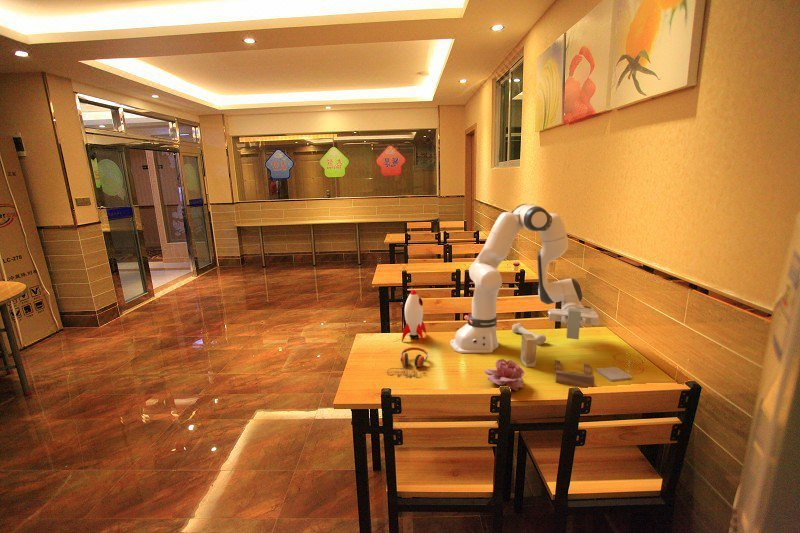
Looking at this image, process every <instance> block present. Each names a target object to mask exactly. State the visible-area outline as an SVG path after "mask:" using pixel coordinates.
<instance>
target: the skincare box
mask: <svg viewBox="0 0 800 533" xmlns="http://www.w3.org/2000/svg"><path fill="white" fill-rule="evenodd" d="M520 346H521V347H520V348H521V349H520V363H522V364H523V365H524V367H525V368H529V367H530V368H531V367H532V368H533V367H536V361H537V348H538V345H537V339H536V338H535V337H534V336H533V335H532V334H521V345H520Z"/></svg>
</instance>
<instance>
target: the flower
mask: <svg viewBox="0 0 800 533" xmlns="http://www.w3.org/2000/svg"><path fill="white" fill-rule="evenodd" d="M494 366H495V368H496V369H491V368H487V369H484V374H485V375H488V376H487V378H486V379H487V380H488V381H489V382H491V383H492V384H494V385H499V386H503V387H505V386H508V387H510V388H509V389H511V390H514V392H515V391H516V392H517V391H519V388H520V389H521V388H522V389H524V381H525V380H524V379H523V376H524V375H525V374H526V373H525V371H524V370H523V369H522V367H520V365H519V364H518V363H517V362H516V361H513V360H512V359H509V360H506V359H504V358H502V359H501V358H500V359H497V360H496V361H495V364H494ZM508 387H507V388H508Z"/></svg>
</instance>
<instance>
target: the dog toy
mask: <svg viewBox="0 0 800 533" xmlns="http://www.w3.org/2000/svg"><path fill="white" fill-rule="evenodd" d="M511 331H512V332H513V333H515V334H521V335H523V334H532V335H533V336H534V337H535V338H536V339H537V346H542V345H543V344H545V342H546V341H547V337H546V336H545V335H544V334H542V333H540V334H536V333H534V332H532V331H531V330H528V329H526V328H524V326H523V324H522V323H521V322H519V323H515V324H512V325H511Z"/></svg>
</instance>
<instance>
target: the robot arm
mask: <svg viewBox="0 0 800 533" xmlns="http://www.w3.org/2000/svg"><path fill="white" fill-rule="evenodd" d="M494 222H495V223H493V226H492V227H491V230H490V232H489V234H488V236H487V238H486V241H485V243H484V246H483V247H482V248H481V250H480V252H479V254H478V255H477V256H476V258H475V259H474V261H473V262H472V263H471V264H470V266H469V267H468V274H469V277H470V280H471V281H472V282H473V284H474V292H473V297H472V298H471V315H470V316H469V315H467V314H465V315H464V317H463V318H464V319H465V321H467V323H466V324H464V325H463V326H462V327H460V328H459V329H457V330H456V332H455V335H454V336H455V337H454V339H453V338H452V339H451V340H450V342H449V344H450V345H449V346H450V347H451V348H452V350H454V351H455V352H457V353H460V354H477V353H479V354H480V353H481V354H482V353H485V354H486V353H487V354H488V353H493V352H494V350H496V349H497V348H498V347H499V345H500V344H499V342H498V336H497V335H498V334H497V326H498V322H497V321H498V320H497V319H498V317H497V299H498V296H499V290H500V288H501V287H502V284H503V277H502V274H501V272H500V271H499V270H498V267H499V266H500V265H501V263H502V262H503V261H504V260H505V259H506V258H507V257H508V254H509V252H510V250H511V248H512V247H513V244H514V242H515V239H516V237H517V234H518V233H519V232H520V231H521V230H522V229H524V230H527V231H533V232H538V233H539V235H540V240H541V249H540V250H539V251H538V252H537V259H536V260H537V275H538V288H537V289H538V290H537V291H538V297H539V300H540V302H541V303H543V304H546V305H551V304H555V303H558V302H561V308H550V309H549V310H547V314H548V317H547V319H548V321H551V322H552V321H553V322H558V323H559V322H560V323H563V324H564V325H567V324H568V310H569V308H577V309H580V310H581V317H580V327H583V326H584V325H589V326H590V325H591V326H599V324H600V316H599V314H598V312H597V311H595V308H594V307H591V306H587V305H583V304H582V300H583V292H582V288H581V286H580V283H579V282H578V281H577V280H576V279H575V278H572V277H571V278H570V277H569V278H565V279H561V280H556V281H551V282H549V281H548V271H547V270H548V266H549V265H550V263H553V261H555V260H557V259H558V258H559V257H562V255H563V254H565V253H566V251H567V250H568V249H569V239H568V238H569V237H568V234H567V233H568V232H567V229H566V226H565V224H564V222H563V220H562V218H561V216H560V215H559V214H557V213H555V212H554V213H553V212H550V213H549V212H548V211H547V210H546V209H545V208H543V207H541V206H537V205H535V204H529V203H523V204H519V205H518V206H516V207H515V208H514V209H513V210H512V211H504V212H501V214H499V216H498V217H497V219H496V220H495V221H494Z"/></svg>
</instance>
